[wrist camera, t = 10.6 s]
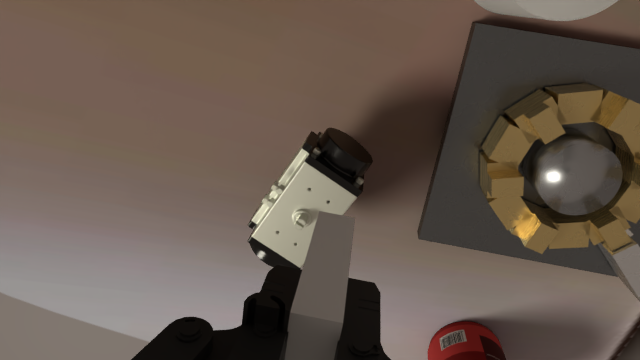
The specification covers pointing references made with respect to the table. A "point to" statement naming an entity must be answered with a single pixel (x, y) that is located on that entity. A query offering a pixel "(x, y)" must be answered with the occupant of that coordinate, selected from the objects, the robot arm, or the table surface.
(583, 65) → the base plate
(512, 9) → the white cylinder
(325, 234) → the robot arm
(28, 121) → the table surface
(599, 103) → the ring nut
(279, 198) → the pneumatic valve
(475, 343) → the canned food
